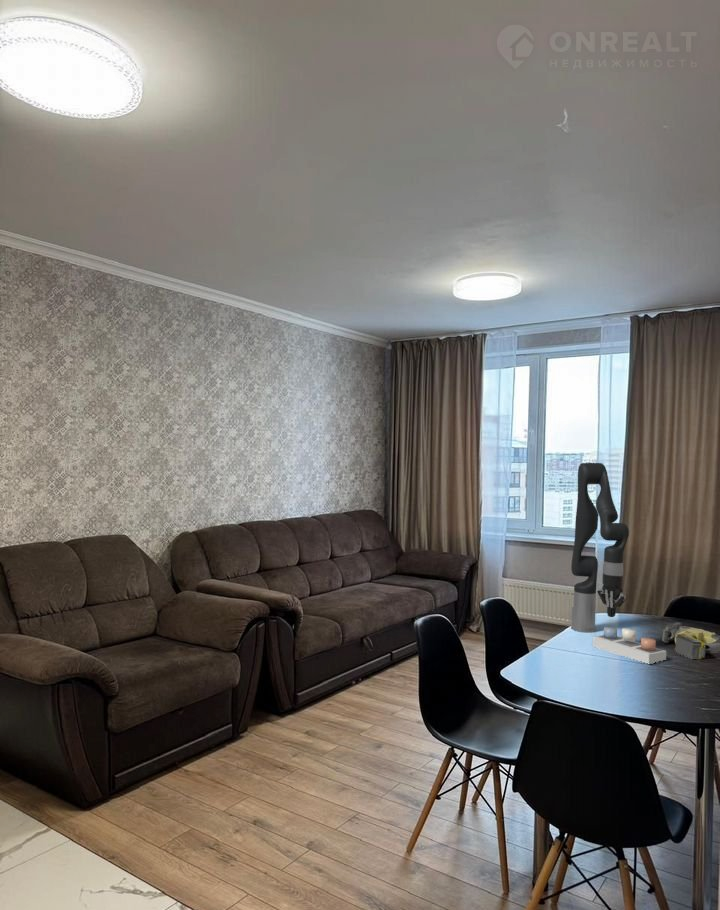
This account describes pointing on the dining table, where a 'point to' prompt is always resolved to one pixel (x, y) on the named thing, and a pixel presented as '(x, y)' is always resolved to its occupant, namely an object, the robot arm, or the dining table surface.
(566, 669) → the dining table surface
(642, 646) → the terracotta button
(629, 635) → the cream button
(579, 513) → the robot arm
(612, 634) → the slate button
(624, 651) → the console
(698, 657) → the circular saw
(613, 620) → the dining table surface
